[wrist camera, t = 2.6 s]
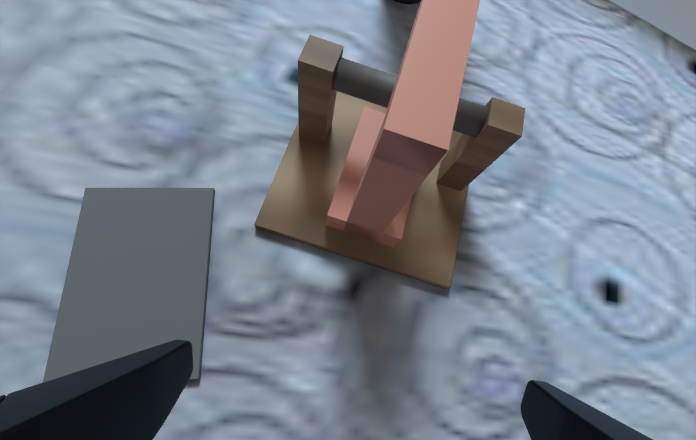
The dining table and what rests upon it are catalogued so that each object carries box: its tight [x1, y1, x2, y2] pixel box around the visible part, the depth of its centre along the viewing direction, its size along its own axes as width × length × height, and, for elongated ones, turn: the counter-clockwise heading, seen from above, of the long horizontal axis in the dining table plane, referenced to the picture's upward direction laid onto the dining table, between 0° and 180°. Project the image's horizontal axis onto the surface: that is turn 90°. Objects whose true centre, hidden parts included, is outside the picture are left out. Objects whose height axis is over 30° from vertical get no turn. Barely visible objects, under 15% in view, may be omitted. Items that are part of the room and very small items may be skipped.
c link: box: [325, 0, 480, 247], centre depth 19 cm, size 9×5×12 cm, turn 164°
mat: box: [43, 188, 215, 383], centre depth 20 cm, size 12×8×1 cm, turn 4°
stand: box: [254, 35, 525, 289], centre depth 21 cm, size 13×14×8 cm
